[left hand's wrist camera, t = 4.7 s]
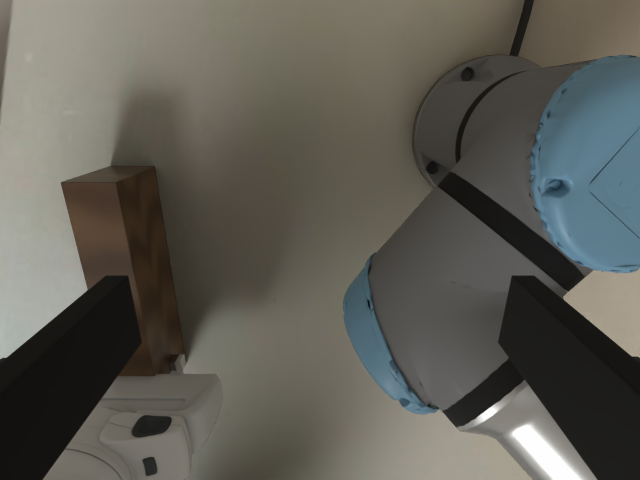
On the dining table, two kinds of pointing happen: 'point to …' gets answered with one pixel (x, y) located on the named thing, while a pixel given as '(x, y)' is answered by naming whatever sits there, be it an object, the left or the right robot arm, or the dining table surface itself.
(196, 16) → the dining table surface
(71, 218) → the bar
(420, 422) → the dining table surface
